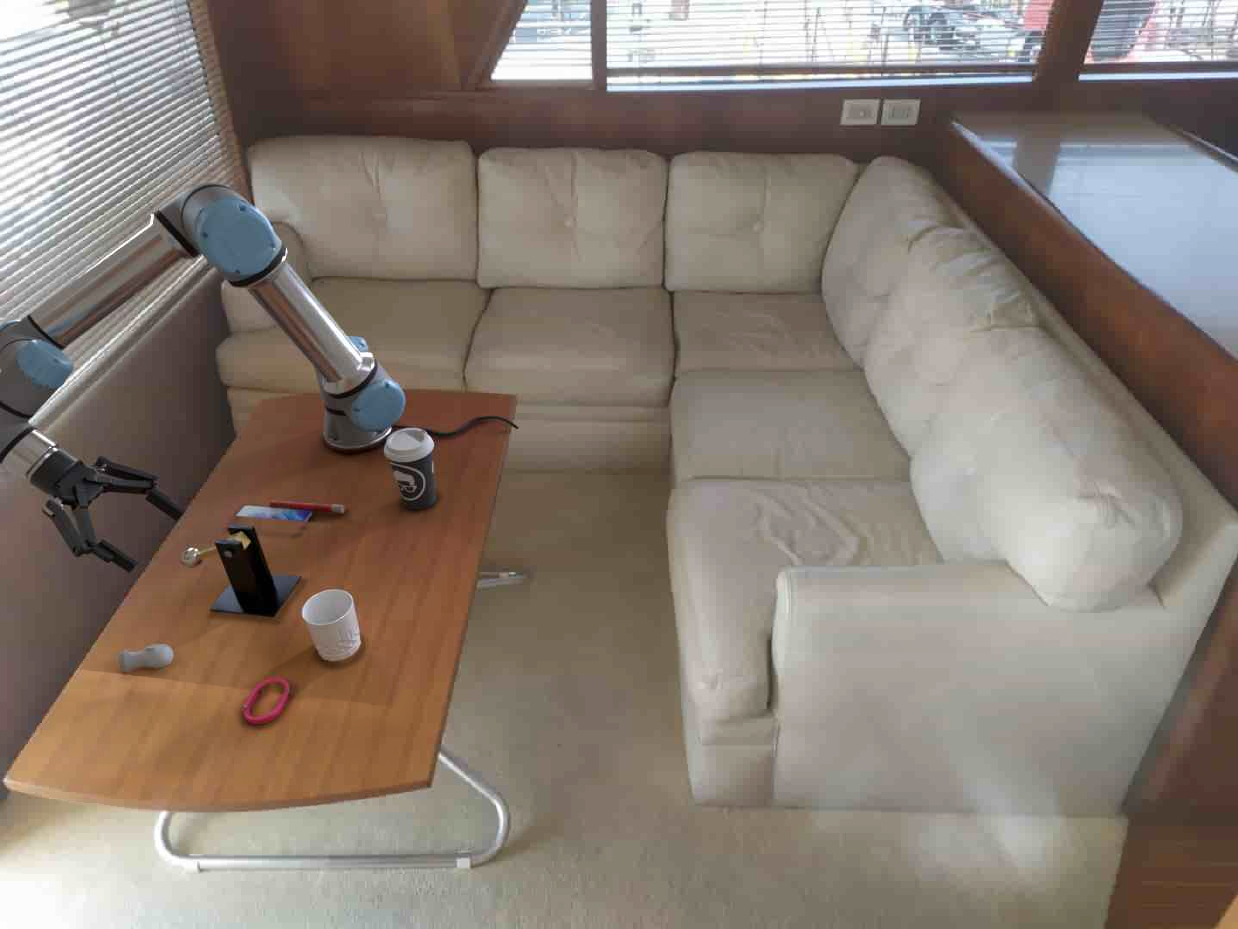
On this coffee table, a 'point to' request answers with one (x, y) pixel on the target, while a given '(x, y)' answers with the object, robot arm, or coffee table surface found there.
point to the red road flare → (308, 506)
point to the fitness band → (255, 695)
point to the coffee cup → (412, 466)
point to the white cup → (332, 624)
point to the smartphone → (274, 513)
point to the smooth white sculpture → (146, 658)
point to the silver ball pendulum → (208, 551)
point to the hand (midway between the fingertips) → (158, 541)
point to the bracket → (250, 578)
